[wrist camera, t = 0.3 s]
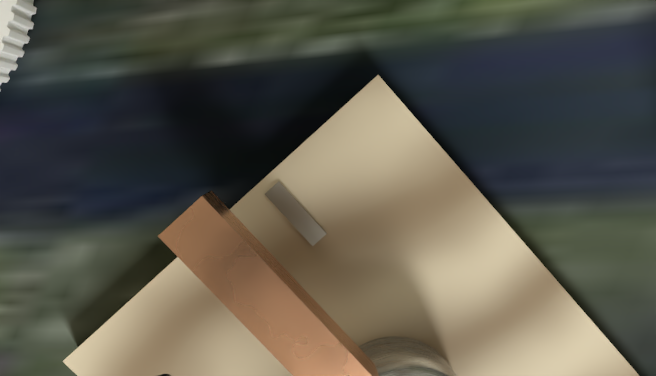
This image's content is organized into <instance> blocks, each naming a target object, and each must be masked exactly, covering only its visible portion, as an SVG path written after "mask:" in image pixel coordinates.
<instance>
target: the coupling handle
mask: <svg viewBox="0 0 656 376" xmlns="http://www.w3.org/2000/svg"><path fill="white" fill-rule="evenodd" d="M158 237H159V238H160V239H161V240H162V241H163V242H164V243H165V244H166V245H167V246H168V247H169V248H170V249H171V250H172V251H173V252H174V253H175V255H176V256H177V257H178V258H179V259H180V260H181V261H182V262H183V263H184V264H185V265H186V266H187V267H188V268H189V269H190V270H191V271H192V272H193V273H194V274H195V275H196V276H197V277H198V278H199V279H200V280H201V281H202V282H203V283H204V284H205V285H206V287H207V288H208V289H209V290H210V291H211V292H212V293H213V294H214V295H215V296H216V297H217V298H218V299H219V300H220V301H221V302H222V303H223V304H224V305H225V306H226V307H227V308H228V309H229V310H230V311H231V312H232V313H233V314H234V315H235V316H236V318H237V319H238V320H239V321H240V322H241V323H242V324H243V325H244V326H245V327H246V328H247V329H248V330H249V331H250V332H251V333H252V334H253V335H254V336H255V337H256V338H257V339H258V340H259V341H260V342H261V343H262V344H263V345H264V346H265V347H266V348H267V350H268V351H269V352H270V353H271V354H272V355H273V356H274V357H275V358H276V359H277V360H278V361H279V362H280V363H281V364H282V365H283V366H284V367H285V368H286V369H287V370H288V371H289V372H290V373H291V374H292V375H293V376H457V375H456V374H455V372H454V371H453V369H452V368H451V367H450V365H449V364H448V362H447V361H446V360H445V359H444V357H443V356H442V355H440V354H439V353H438V352H437V351H436V350H435V349H433V348H432V347H430V346H429V345H427V344H425V343H423V342H421V341H418V340H415V339H411V338H407V337H398V336H392V337H383V338H378V339H374V340H371V341H368V342H366V343H364V344H362V345H360V346H357V345H356V343H355V342H354V341H353V340H352V339H351V338H350V337H349V336H348V335H347V334H346V333H345V332H344V331H343V330H342V329H341V328H340V326H339V325H338V324H337V323H336V322H335V321H334V320H333V319H332V318H331V317H330V316H329V315H328V314H327V313H326V312H325V311H324V309H323V308H322V307H321V306H320V305H319V304H318V303H317V302H316V301H315V300H314V299H313V298H312V297H311V296H310V295H309V294H308V292H307V291H306V290H305V289H304V288H303V287H302V286H301V285H300V284H299V283H298V282H297V281H296V280H295V279H294V278H293V277H292V275H291V274H290V273H289V272H288V271H287V270H286V269H285V268H284V267H283V266H282V265H281V264H280V263H279V262H278V261H277V260H276V258H275V257H274V256H273V255H272V254H271V253H270V252H269V251H268V250H267V249H266V248H265V247H264V246H263V245H262V244H261V243H260V241H259V240H258V239H257V238H256V237H255V236H254V235H253V234H252V233H251V232H250V231H249V230H248V229H247V228H246V227H245V226H244V224H243V223H242V222H241V221H240V220H239V219H238V218H237V217H236V216H235V215H234V214H233V213H232V212H231V211H230V210H229V209H228V208H227V206H226V205H225V204H224V203H223V202H222V201H221V200H220V199H219V198H218V197H217V196H216V195H215V194H214V193H213V192H212V191H210V192H208V193H206V194H204V195H203V196H201V197H200V198H199V199H198V200H197V201H196V202H195V203H194V204H193V205H191V206H190V207H189V208H188V209H187V210H186V211H185V212H184V213H183V214H182V215H180V216H179V217H178V218H177V219H176V220H175V221H174V222H173V223H172V224H171V225H169V226H168V227H167V228H166V229H165V230H164V231H163V232H162V233H161V234H160V235H158Z"/></svg>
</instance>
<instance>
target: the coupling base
mask: <svg viewBox="0 0 656 376" xmlns="http://www.w3.org/2000/svg"><path fill="white" fill-rule="evenodd" d="M229 210H230V211H231V212H232V213H233V214H234V215H235V216H236V217H237V218H238V219H239V220H240V221H241V222H242V223H243V224H244V226H245V227H246V228H247V229H248V230H249V231H250V232H251V233H252V234H253V235H254V236H255V237H256V238H257V239H258V240H259V241H260V243H261V244H262V245H263V246H264V247H265V248H266V249H267V250H268V251H269V252H270V253H271V254H272V255H273V256H274V257H275V258H276V260H277V261H278V262H279V263H280V264H281V265H282V266H283V267H284V268H285V269H286V270H287V271H288V272H289V273H290V274H291V275H292V277H293V278H294V279H295V280H296V281H297V282H298V283H299V284H300V285H301V286H302V287H303V288H304V289H305V290H306V291H307V292H308V294H309V295H310V296H311V297H312V298H313V299H314V300H315V301H316V302H317V303H318V304H319V305H320V306H321V307H322V308H323V309H324V311H325V312H326V313H327V314H328V315H329V316H330V317H331V318H332V319H333V320H334V321H335V322H336V323H337V324H338V325H339V326H340V328H341V329H342V330H343V331H344V332H345V333H346V334H347V335H348V336H349V337H350V338H351V339H352V340H353V341H354V342H355V343H356V345H357V346H360V345H362V344H364V343H366V342H368V341H371V340H374V339H378V338H383V337H392V336H398V337H407V338H411V339H415V340H418V341H421V342H423V343H425V344H427V345H429V346H430V347H432V348H433V349H435V350H436V351H437V352H438V353H439V354H440V355H442V356H443V357H444V359H445V360H446V361H447V362H448V364H449V365H450V367H451V368H452V369H453V371H454V372H455V374H456V375H457V376H639V375H638V373H637V372H636V371H635V370H634V369H633V368H632V367H631V365H630V364H629V363H628V362H627V361H626V360H625V358H624V357H623V356H622V355H621V354H620V353H619V352H618V350H617V349H616V348H615V347H614V346H613V345H612V343H611V342H610V341H609V340H608V339H607V338H606V337H605V335H604V334H603V333H602V332H601V331H600V330H599V328H598V327H597V326H596V325H595V324H594V323H593V322H592V320H591V319H590V318H589V317H588V316H587V315H586V313H585V312H584V311H583V310H582V309H581V308H580V307H579V305H578V304H577V303H576V302H575V301H574V300H573V299H572V297H571V296H570V295H569V294H568V293H567V292H566V290H565V289H564V288H563V287H562V286H561V285H560V284H559V282H558V281H557V280H556V279H555V278H554V277H553V275H552V274H551V273H550V272H549V271H548V270H547V269H546V267H545V266H544V265H543V264H542V263H541V262H540V260H539V259H538V258H537V257H536V256H535V255H534V254H533V252H532V251H531V250H530V249H529V248H528V247H527V246H526V244H525V243H524V242H523V241H522V240H521V239H520V237H519V236H518V235H517V234H516V233H515V232H514V231H513V229H512V228H511V227H510V226H509V225H508V224H507V222H506V221H505V220H504V219H503V218H502V217H501V216H500V214H499V213H498V212H497V211H496V210H495V209H494V207H493V206H492V205H491V204H490V203H489V202H488V201H487V199H486V198H485V197H484V196H483V195H482V194H481V193H480V191H479V190H478V189H477V188H476V187H475V186H474V184H473V183H472V182H471V181H470V180H469V179H468V178H467V176H466V175H465V174H464V173H463V172H462V171H461V169H460V168H459V167H458V166H457V165H456V164H455V163H454V161H453V160H452V159H451V158H450V157H449V156H448V154H447V153H446V152H445V151H444V150H443V149H442V148H441V146H440V145H439V144H438V143H437V142H436V141H435V140H434V138H433V137H432V136H431V135H430V134H429V133H428V131H427V130H426V129H425V128H424V127H423V126H422V125H421V123H420V122H419V121H418V120H417V119H416V118H415V116H414V115H413V114H412V113H411V112H410V111H409V110H408V108H407V107H406V106H405V105H404V104H403V103H402V101H401V100H400V99H399V98H398V97H397V96H396V95H395V93H394V92H393V91H392V90H391V89H390V88H389V87H388V85H387V84H386V83H385V82H384V81H383V80H382V78H381V77H380V76H379V75H377V76H376V77H375V78H374V79H373V80H371V81H370V82H369V83H368V84H367V85H366V86H365V87H364V88H363V89H362V90H360V91H359V92H358V93H357V94H356V95H355V96H354V97H353V98H352V99H351V100H349V101H348V102H347V103H346V104H345V105H344V106H343V107H342V108H341V109H340V110H338V111H337V112H336V113H335V114H334V115H333V116H332V117H331V118H330V119H329V120H327V121H326V122H325V123H324V124H323V125H322V126H321V127H320V128H319V129H317V130H316V131H315V132H314V133H313V134H312V135H311V136H310V137H309V138H308V139H306V140H305V141H304V142H303V143H302V144H301V145H300V146H299V147H298V148H297V149H295V150H294V151H293V152H292V153H291V154H290V155H289V156H288V157H287V158H286V159H284V160H283V161H282V162H281V163H280V164H279V165H278V166H277V167H276V168H275V169H273V170H272V171H271V172H270V173H269V174H268V175H267V176H266V177H265V178H264V179H262V180H261V181H260V182H259V183H258V184H257V185H256V186H255V187H254V188H253V189H251V190H250V191H249V192H248V193H247V194H246V195H245V196H244V197H243V198H242V199H240V200H239V201H238V202H237V203H236V204H235V205H234V206H233V207H232V208H231V209H229ZM63 362H64V363H65V364H66V365H67V366H68V367H69V368H70V369H71V370H72V371H73V372H74V373H75V374H76V375H77V376H158V375H162V374H170V375H171V376H293V375H292V374H291V373H290V372H289V371H288V370H287V369H286V368H285V367H284V366H283V365H282V364H281V363H280V362H279V361H278V360H277V359H276V358H275V357H274V356H273V355H272V354H271V353H270V352H269V351H268V350H267V348H266V347H265V346H264V345H263V344H262V343H261V342H260V341H259V340H258V339H257V338H256V337H255V336H254V335H253V334H252V333H251V332H250V331H249V330H248V329H247V328H246V327H245V326H244V325H243V324H242V323H241V322H240V321H239V320H238V319H237V318H236V316H235V315H234V314H233V313H232V312H231V311H230V310H229V309H228V308H227V307H226V306H225V305H224V304H223V303H222V302H221V301H220V300H219V299H218V298H217V297H216V296H215V295H214V294H213V293H212V292H211V291H210V290H209V289H208V288H207V287H206V285H205V284H204V283H203V282H202V281H201V280H200V279H199V278H198V277H197V276H196V275H195V274H194V273H193V272H192V271H191V270H190V269H189V268H188V267H187V266H186V265H185V264H184V263H183V262H182V261H181V260H180V259H179V258H178V257H177V258H175V259H174V260H173V261H172V262H171V263H170V264H169V265H168V266H167V267H166V268H164V269H163V270H162V271H161V272H160V273H159V274H158V275H157V276H156V277H155V278H153V279H152V280H151V281H150V282H149V283H148V284H147V285H146V286H145V287H144V288H142V289H141V290H140V291H139V292H138V293H137V294H136V295H135V296H134V297H133V298H131V299H130V300H129V301H128V302H127V303H126V304H125V305H124V306H123V307H122V308H120V309H119V310H118V311H117V312H116V313H115V314H114V315H113V316H112V317H111V318H109V319H108V320H107V321H106V322H105V323H104V324H103V325H102V326H101V327H100V328H98V329H97V330H96V331H95V332H94V333H93V334H92V335H91V336H90V337H89V338H87V339H86V340H85V341H84V342H83V343H82V344H81V345H80V346H79V347H78V348H76V349H75V350H74V351H73V352H72V353H71V354H70V355H69V356H68V357H67V358H66V359H65V360H64V361H63Z"/></svg>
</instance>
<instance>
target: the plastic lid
mask: <svg viewBox="0 0 656 376" xmlns="http://www.w3.org/2000/svg"><path fill="white" fill-rule="evenodd" d="M33 2H34V0H0V85H1V84H2V82H4V83H7V82H8V81H9V79H10V77H9V76H8V74H9V72H10V71H11V70H14V71H15V70H16V68H17V66H18V64H17V63H16V60H17V58H18V57H23V55H24V51H23V50H22V47H23V45H24V44H28V42H29V39H30V37H29V36H28V35H27V33H28V30H29V29H33V26H34V23H33V22H32V21H31V16H32V15H34V14H36V10H37V8H36V7H34V6H33ZM0 91H1V89H0Z"/></svg>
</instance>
